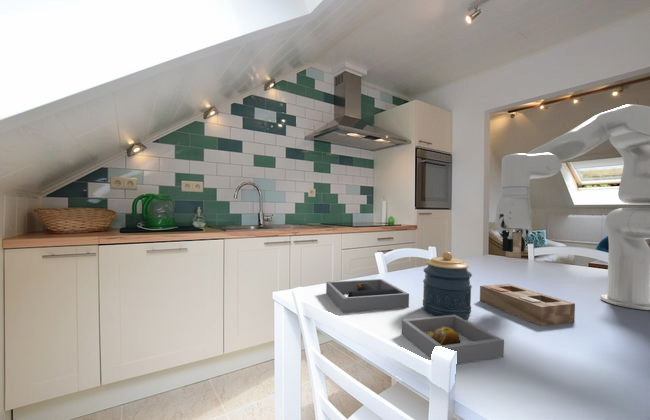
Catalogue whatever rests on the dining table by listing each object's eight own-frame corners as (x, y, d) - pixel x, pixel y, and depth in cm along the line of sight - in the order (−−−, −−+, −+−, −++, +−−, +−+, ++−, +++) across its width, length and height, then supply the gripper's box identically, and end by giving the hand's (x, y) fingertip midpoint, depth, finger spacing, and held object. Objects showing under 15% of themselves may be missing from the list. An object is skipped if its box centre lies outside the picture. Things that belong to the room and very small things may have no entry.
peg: (512, 255, 92) (512, 231, 92) (524, 258, 88) (524, 232, 88) (502, 256, 91) (503, 231, 91) (514, 258, 87) (514, 232, 87)
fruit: (419, 334, 68) (419, 318, 68) (456, 338, 66) (457, 323, 66) (422, 350, 60) (422, 333, 60) (464, 356, 58) (465, 339, 58)
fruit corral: (454, 328, 71) (454, 314, 71) (503, 357, 57) (503, 340, 57) (401, 334, 67) (401, 319, 67) (440, 367, 53) (441, 348, 53)
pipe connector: (341, 282, 93) (382, 280, 97) (340, 298, 93) (382, 295, 97) (354, 294, 82) (400, 291, 85) (353, 312, 82) (399, 308, 86)
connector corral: (381, 289, 103) (381, 279, 103) (408, 307, 85) (409, 293, 85) (326, 293, 97) (326, 282, 97) (343, 312, 80) (343, 298, 80)
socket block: (508, 298, 96) (508, 282, 96) (574, 321, 76) (575, 302, 76) (479, 300, 92) (480, 284, 92) (541, 326, 73) (541, 305, 73)
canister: (476, 312, 82) (478, 252, 82) (462, 325, 73) (464, 257, 72) (432, 301, 91) (434, 247, 91) (414, 311, 82) (416, 251, 81)
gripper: (523, 194, 95) (522, 248, 95) (483, 193, 91) (482, 249, 91) (546, 193, 88) (545, 252, 88) (504, 192, 83) (502, 253, 83)
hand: (513, 250), depth 89 cm, fingers closed on peg, 4 cm apart
